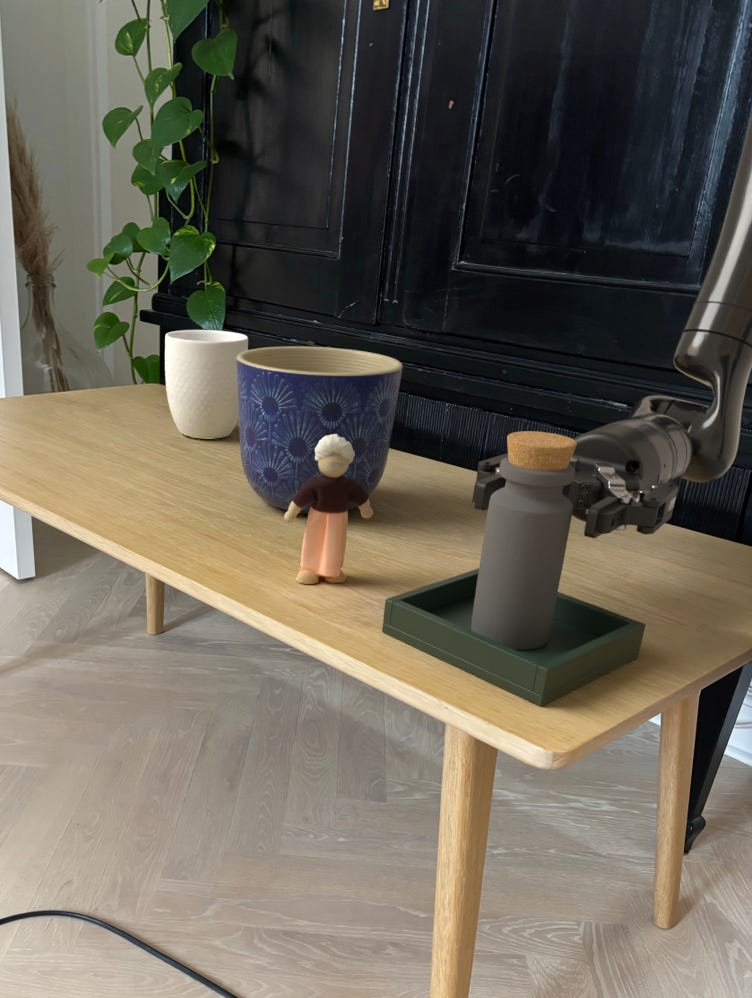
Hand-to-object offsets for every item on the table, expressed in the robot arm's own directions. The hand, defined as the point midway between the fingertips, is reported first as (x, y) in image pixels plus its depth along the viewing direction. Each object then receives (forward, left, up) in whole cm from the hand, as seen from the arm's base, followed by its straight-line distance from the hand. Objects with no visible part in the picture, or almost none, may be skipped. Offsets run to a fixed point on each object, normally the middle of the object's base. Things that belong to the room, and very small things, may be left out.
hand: (533, 509), depth 67 cm
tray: (0, 0, -11) cm, 11 cm away
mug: (+67, -22, -11) cm, 71 cm away
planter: (+35, -12, -11) cm, 39 cm away
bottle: (0, 0, -10) cm, 10 cm away
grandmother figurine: (+18, +2, -11) cm, 21 cm away
